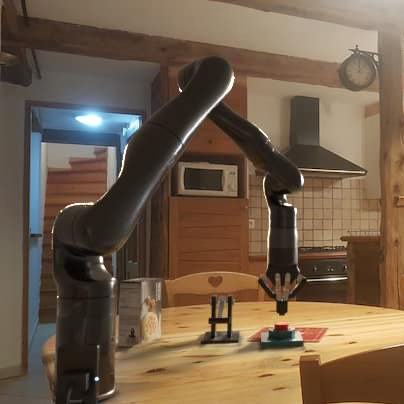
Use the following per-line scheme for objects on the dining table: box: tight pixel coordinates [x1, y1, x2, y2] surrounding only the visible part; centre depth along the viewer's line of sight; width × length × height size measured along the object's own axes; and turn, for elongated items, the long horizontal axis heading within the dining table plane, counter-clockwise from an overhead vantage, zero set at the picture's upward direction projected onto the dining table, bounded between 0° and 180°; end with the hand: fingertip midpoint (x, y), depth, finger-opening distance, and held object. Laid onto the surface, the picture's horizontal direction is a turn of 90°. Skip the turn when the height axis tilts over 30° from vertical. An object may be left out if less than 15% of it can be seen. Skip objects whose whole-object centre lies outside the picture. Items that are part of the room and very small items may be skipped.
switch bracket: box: [200, 293, 241, 344], centre depth 134 cm, size 12×9×12 cm
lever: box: [207, 295, 230, 325], centre depth 130 cm, size 12×5×2 cm, turn 11°
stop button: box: [273, 321, 290, 331], centre depth 130 cm, size 4×4×2 cm
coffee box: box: [117, 277, 163, 348], centre depth 131 cm, size 9×6×16 cm
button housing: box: [260, 326, 305, 349], centre depth 130 cm, size 12×10×4 cm
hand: (281, 315), depth 130 cm, fingers closed
